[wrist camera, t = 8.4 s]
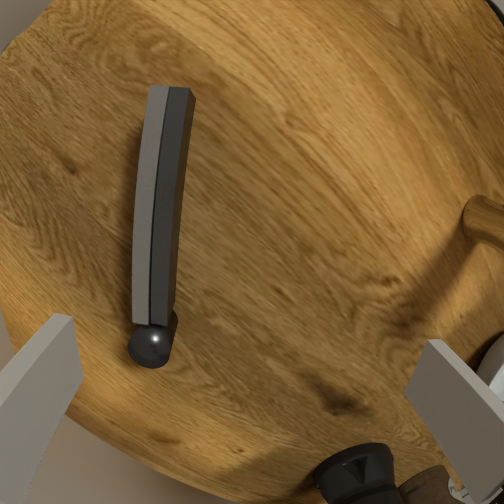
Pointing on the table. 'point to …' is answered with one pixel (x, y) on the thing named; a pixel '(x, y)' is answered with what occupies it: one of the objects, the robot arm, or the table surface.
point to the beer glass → (484, 222)
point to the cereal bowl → (494, 368)
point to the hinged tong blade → (147, 202)
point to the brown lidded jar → (430, 488)
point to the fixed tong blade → (166, 234)
